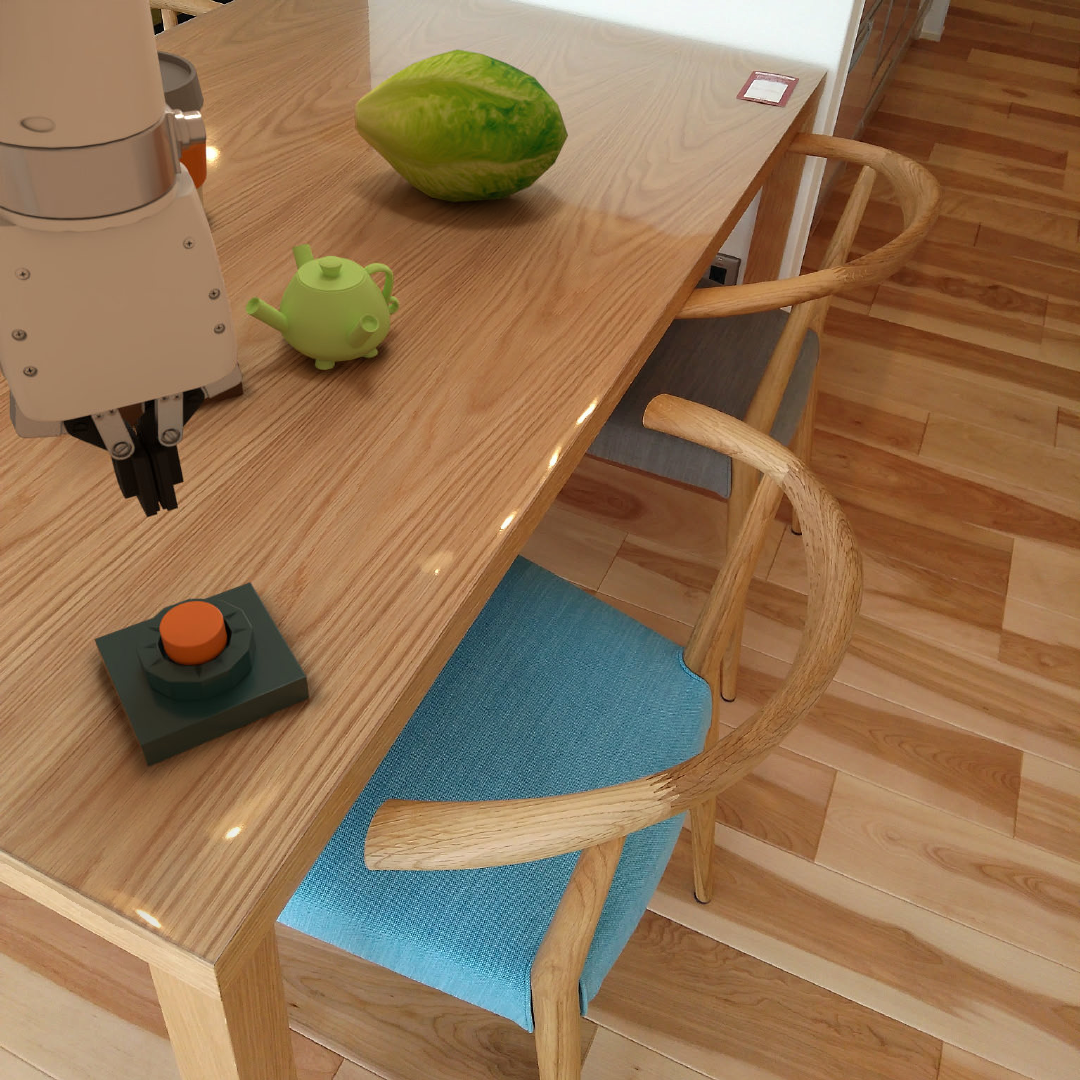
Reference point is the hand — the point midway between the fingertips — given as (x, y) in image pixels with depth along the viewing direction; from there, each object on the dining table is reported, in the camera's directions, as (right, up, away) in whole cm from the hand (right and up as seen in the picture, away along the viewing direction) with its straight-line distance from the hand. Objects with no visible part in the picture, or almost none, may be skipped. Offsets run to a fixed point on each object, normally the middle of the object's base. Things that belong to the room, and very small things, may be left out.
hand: (154, 496), depth 54 cm
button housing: (-1, -11, +10) cm, 15 cm away
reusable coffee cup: (-19, +30, +50) cm, 61 cm away
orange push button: (0, -8, +7) cm, 11 cm away
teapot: (+2, +15, +37) cm, 40 cm away
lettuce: (+11, +37, +61) cm, 72 cm away
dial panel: (-12, +11, +31) cm, 35 cm away
